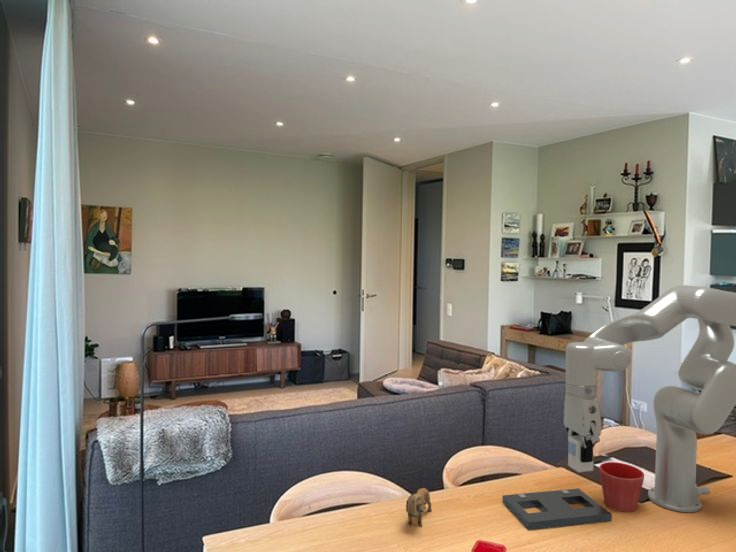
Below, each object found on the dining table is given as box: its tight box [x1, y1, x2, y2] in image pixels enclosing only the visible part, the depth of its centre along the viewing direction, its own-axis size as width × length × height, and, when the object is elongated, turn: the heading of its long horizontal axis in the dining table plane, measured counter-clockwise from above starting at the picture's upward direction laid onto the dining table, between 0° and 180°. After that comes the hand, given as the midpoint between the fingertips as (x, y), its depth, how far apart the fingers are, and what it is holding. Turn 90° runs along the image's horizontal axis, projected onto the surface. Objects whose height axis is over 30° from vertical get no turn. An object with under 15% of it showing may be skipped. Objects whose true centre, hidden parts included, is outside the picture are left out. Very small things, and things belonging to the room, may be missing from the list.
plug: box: [567, 435, 594, 473], centre depth 133 cm, size 5×4×8 cm
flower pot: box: [598, 461, 645, 513], centre depth 136 cm, size 11×11×10 cm
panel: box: [502, 488, 613, 531], centre depth 133 cm, size 23×14×2 cm, turn 101°
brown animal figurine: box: [405, 487, 432, 528], centre depth 128 cm, size 15×5×9 cm, turn 165°
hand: (580, 457), depth 134 cm, fingers closed on plug, 4 cm apart
